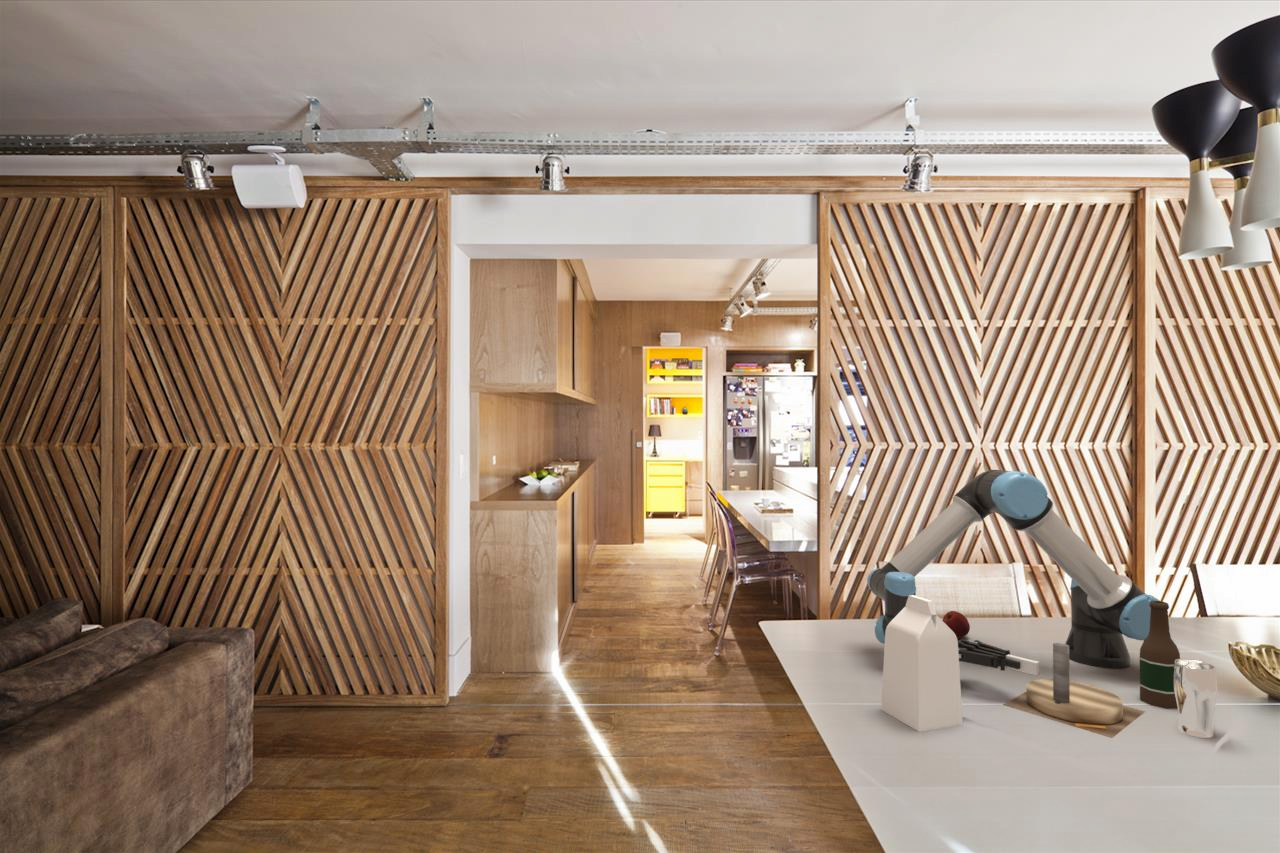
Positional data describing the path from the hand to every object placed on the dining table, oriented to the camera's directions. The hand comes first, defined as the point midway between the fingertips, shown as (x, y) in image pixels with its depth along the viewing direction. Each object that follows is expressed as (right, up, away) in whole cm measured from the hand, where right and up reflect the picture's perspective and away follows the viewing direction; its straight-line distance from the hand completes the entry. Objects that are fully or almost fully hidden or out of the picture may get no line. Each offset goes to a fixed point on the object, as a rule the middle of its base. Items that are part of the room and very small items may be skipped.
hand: (1037, 668), depth 148 cm
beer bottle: (+30, -10, +3) cm, 32 cm away
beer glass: (+25, -10, -12) cm, 30 cm away
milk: (-27, -10, -2) cm, 29 cm away
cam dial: (+8, -9, 0) cm, 12 cm away
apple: (+9, -11, +56) cm, 58 cm away
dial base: (+8, -10, 0) cm, 13 cm away
